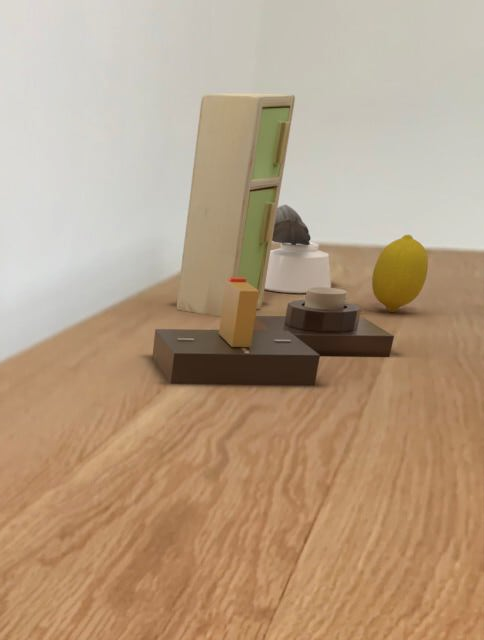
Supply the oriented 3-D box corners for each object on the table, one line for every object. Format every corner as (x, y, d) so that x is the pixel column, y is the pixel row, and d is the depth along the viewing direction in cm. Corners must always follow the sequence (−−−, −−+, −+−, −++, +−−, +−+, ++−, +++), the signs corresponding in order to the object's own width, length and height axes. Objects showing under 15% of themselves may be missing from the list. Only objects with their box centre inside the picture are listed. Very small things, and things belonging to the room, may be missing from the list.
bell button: (336, 306, 107) (340, 287, 106) (348, 313, 104) (352, 294, 103) (299, 306, 107) (302, 287, 106) (309, 313, 104) (313, 293, 103)
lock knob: (250, 347, 93) (260, 287, 90) (231, 347, 93) (240, 287, 90) (236, 334, 98) (244, 276, 95) (218, 334, 98) (226, 276, 95)
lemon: (417, 318, 121) (435, 239, 117) (364, 314, 123) (380, 236, 118) (417, 310, 125) (435, 233, 121) (366, 306, 127) (381, 230, 123)
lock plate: (282, 365, 101) (289, 328, 99) (313, 392, 92) (320, 353, 91) (151, 363, 101) (155, 327, 100) (169, 390, 93) (174, 351, 91)
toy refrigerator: (233, 319, 120) (265, 94, 109) (174, 310, 124) (200, 93, 113) (268, 310, 125) (303, 94, 114) (211, 301, 129) (239, 92, 118)
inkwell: (338, 285, 139) (355, 197, 134) (304, 308, 126) (321, 211, 120) (265, 279, 143) (278, 193, 138) (224, 300, 130) (237, 206, 124)
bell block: (358, 340, 111) (367, 297, 109) (389, 360, 103) (398, 315, 101) (248, 338, 111) (255, 296, 109) (270, 358, 103) (278, 313, 101)
